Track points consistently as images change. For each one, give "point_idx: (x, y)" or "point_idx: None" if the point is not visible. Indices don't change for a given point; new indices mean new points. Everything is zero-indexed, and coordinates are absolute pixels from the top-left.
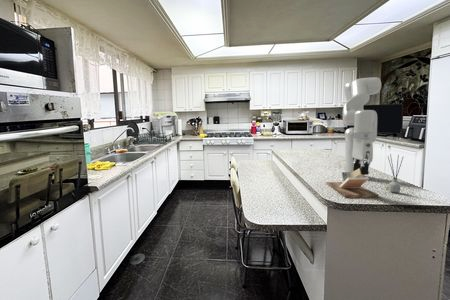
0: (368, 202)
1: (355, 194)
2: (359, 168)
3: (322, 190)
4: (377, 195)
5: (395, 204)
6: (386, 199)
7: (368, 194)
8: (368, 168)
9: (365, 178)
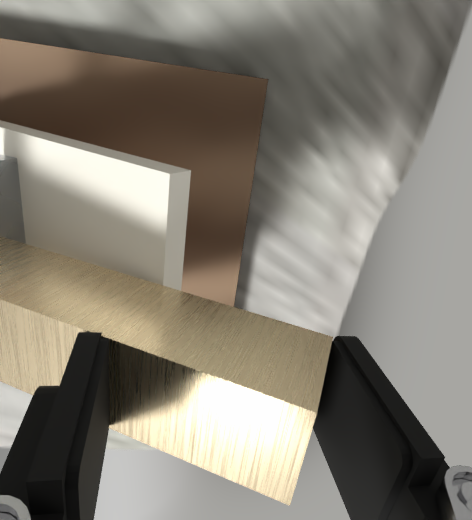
0: (340, 249)
1: (225, 288)
2: (288, 497)
3: (17, 415)
4: (264, 92)
5: (440, 73)
6: (321, 39)
7: (244, 180)
8: (411, 413)
9: (181, 223)
